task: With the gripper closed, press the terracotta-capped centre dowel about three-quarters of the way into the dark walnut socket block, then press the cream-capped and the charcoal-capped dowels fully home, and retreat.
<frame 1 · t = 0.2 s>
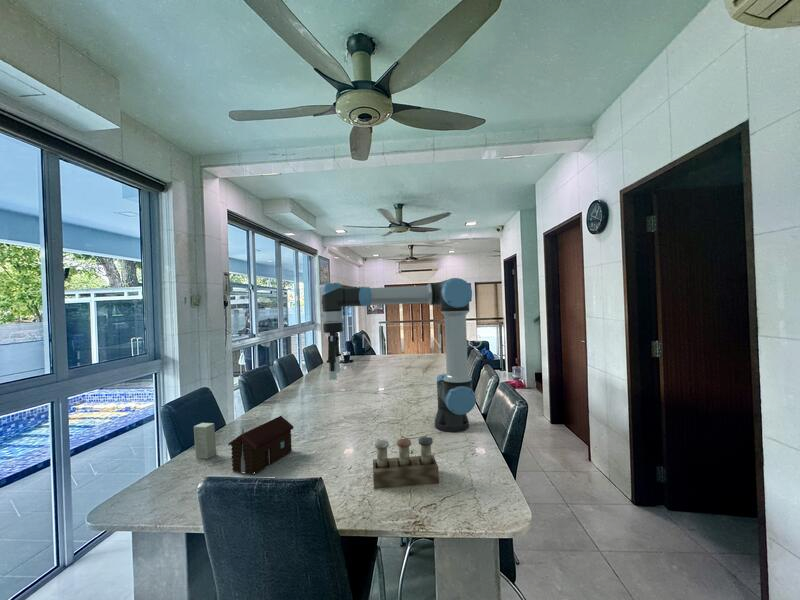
hand: (335, 376, 143), 28 cm above the table, fingers open, 13 cm apart
skincare box: (205, 456, 139), on the table
plug cream: (382, 455, 115), point 8 cm above the table, slide at 0.0 cm
socket block: (405, 478, 115), on the table
model building: (263, 461, 133), on the table
plug terracotta: (404, 453, 115), point 8 cm above the table, slide at 0.0 cm
plug charcoal: (426, 452, 116), point 8 cm above the table, slide at 0.0 cm
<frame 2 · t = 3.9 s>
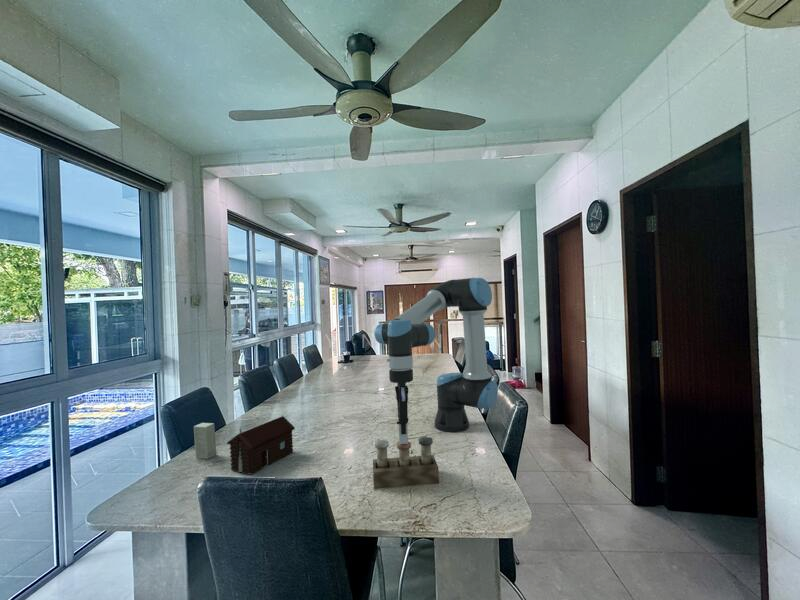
hand: (403, 443, 115), 11 cm above the table, fingers closed
plug terracotta: (404, 456, 115), point 7 cm above the table, slide at 0.8 cm, touching gripper
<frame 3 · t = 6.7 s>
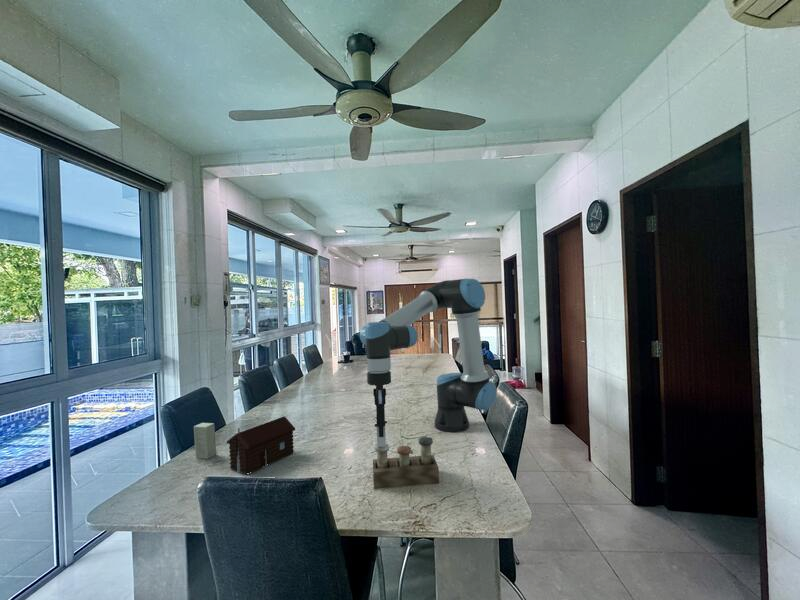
hand: (381, 445, 115), 11 cm above the table, fingers closed
plug cream: (382, 459, 115), point 7 cm above the table, slide at 1.2 cm, touching gripper
plug terracotta: (404, 461, 115), point 6 cm above the table, slide at 2.4 cm
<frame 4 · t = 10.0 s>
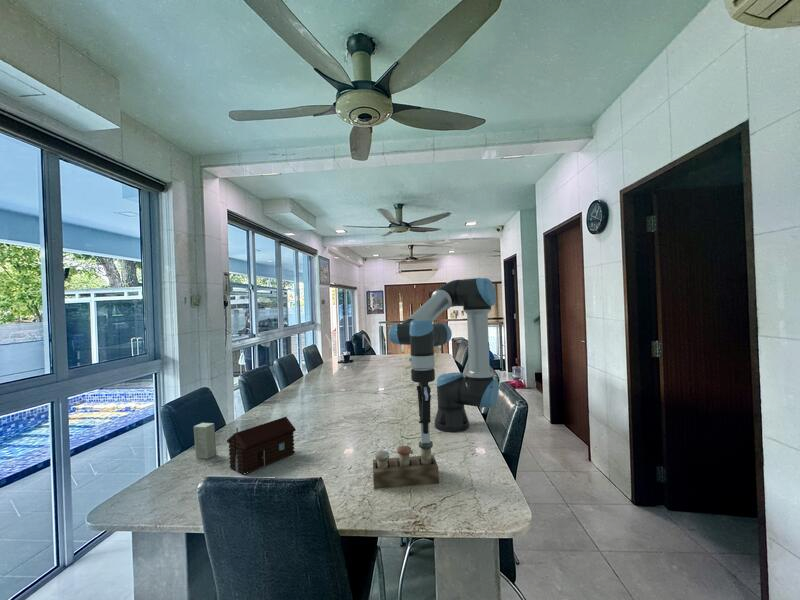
hand: (425, 442, 116), 11 cm above the table, fingers closed
plug cream: (382, 466, 115), point 5 cm above the table, slide at 3.5 cm
plug charcoal: (426, 455, 116), point 7 cm above the table, slide at 1.1 cm, touching gripper
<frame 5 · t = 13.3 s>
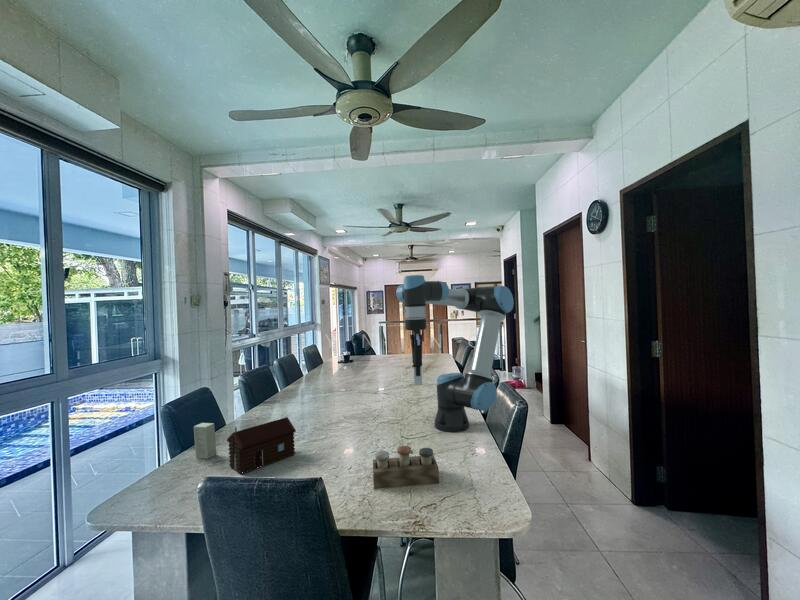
hand: (418, 384, 130), 26 cm above the table, fingers closed
plug charcoal: (426, 463, 116), point 4 cm above the table, slide at 3.5 cm
at the end: plug terracotta slide at 2.4 cm; plug cream slide at 3.5 cm; plug charcoal slide at 3.5 cm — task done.
